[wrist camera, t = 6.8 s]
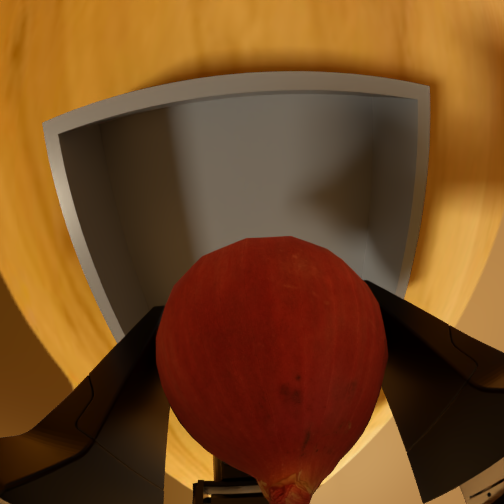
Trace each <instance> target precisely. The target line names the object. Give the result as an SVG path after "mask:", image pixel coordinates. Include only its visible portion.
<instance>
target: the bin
mask: <svg viewBox="0 0 504 504" xmlns="http://www.w3.org/2000/svg"><path fill="white" fill-rule="evenodd" d="M42 124H43V130H44V136H45V142H46V147H47V153H48V158H49V162H50V167H51V171H52V175H53V180H54V184H55V187H56V191H57V195H58V199H59V202H60V206H61V209H62V212H63V216H64V219H65V222H66V225H67V228H68V231H69V234H70V237H71V240H72V243H73V246H74V248H75V251H76V254H77V256H78V259H79V262H80V264H81V267H82V269H83V272H84V274H85V277H86V279H87V281H88V284H89V286H90V288H91V291H92V293H93V295H94V297H95V300H96V302H97V304H98V306H99V308H100V310H101V312H102V314H103V316H104V318H105V320H106V322H107V324H108V326H109V328H110V330H111V332H112V334H113V336H114V338H115V340H116V342H117V344H118V343H119V342H120V340H121V339H122V338H123V337H124V336H125V335H126V334H127V333H128V332H129V331H130V330H131V329H132V328H133V327H134V326H135V325H136V324H137V323H138V322H139V321H140V320H141V319H142V318H143V317H144V316H145V315H146V314H147V313H148V312H149V311H150V310H151V309H152V308H153V307H154V306H162V305H166V303H167V300H168V298H169V296H170V293H171V291H172V289H173V286H174V285H175V284H176V283H177V282H178V280H179V279H180V278H181V277H182V276H183V275H184V274H185V273H186V272H187V271H188V270H189V269H190V268H191V267H192V266H193V265H194V264H195V263H196V262H197V261H198V260H199V259H200V258H201V257H202V256H204V255H206V254H208V253H211V252H213V251H215V250H218V249H220V248H223V247H225V246H228V245H230V244H233V243H235V242H238V241H240V240H243V239H245V238H261V237H279V236H293V237H296V238H299V239H301V240H304V241H307V242H310V243H313V244H315V245H318V246H321V247H324V248H327V249H328V250H330V251H331V252H332V253H334V254H335V255H337V256H338V257H339V258H341V259H342V260H343V261H344V262H345V263H346V264H347V265H348V266H349V267H350V268H351V269H352V270H353V271H354V272H355V273H356V274H357V275H358V276H359V277H360V278H361V279H362V280H369V281H371V282H372V283H374V284H376V285H378V286H380V287H382V288H384V289H385V290H387V291H389V292H391V293H393V294H395V295H397V296H398V297H400V298H402V299H404V297H405V293H406V289H407V286H408V282H409V278H410V274H411V269H412V265H413V261H414V256H415V252H416V247H417V242H418V236H419V231H420V225H421V219H422V213H423V206H424V199H425V191H426V182H427V172H428V160H429V144H430V86H427V85H422V84H418V83H413V82H407V81H402V80H396V79H390V78H383V77H376V76H368V75H359V74H349V73H335V72H314V71H274V72H253V73H240V74H229V75H220V76H211V77H204V78H197V79H191V80H185V81H179V82H174V83H168V84H163V85H159V86H154V87H150V88H145V89H141V90H137V91H133V92H129V93H126V94H122V95H118V96H115V97H112V98H108V99H105V100H102V101H99V102H96V103H92V104H90V105H87V106H84V107H81V108H78V109H75V110H73V111H70V112H67V113H65V114H62V115H60V116H57V117H55V118H52V119H50V120H48V121H45V122H43V123H42Z"/></svg>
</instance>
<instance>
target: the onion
mask: <svg viewBox="0 0 504 504" xmlns="http://www.w3.org/2000/svg"><path fill="white" fill-rule="evenodd" d="M387 360H388V348H387V339H386V333H385V328H384V324H383V319H382V315H381V310H380V306H379V303H378V301H377V300H376V298H375V296H374V295H373V293H372V291H371V290H370V288H369V286H368V285H367V284H366V283H365V282H364V281H363V280H362V279H361V278H360V277H359V276H358V275H357V274H356V273H355V272H354V271H353V270H352V269H351V268H350V267H349V266H348V265H347V264H346V263H345V262H344V261H343V260H342V259H341V258H339V257H338V256H337V255H335V254H334V253H332V252H331V251H330V250H328V249H327V248H324V247H321V246H318V245H315V244H313V243H310V242H307V241H304V240H301V239H299V238H296V237H293V236H279V237H261V238H245V239H243V240H240V241H238V242H235V243H233V244H230V245H228V246H225V247H223V248H220V249H218V250H215V251H213V252H211V253H208V254H206V255H204V256H202V257H201V258H200V259H199V260H198V261H197V262H196V263H195V264H194V265H193V266H192V267H191V268H190V269H189V270H188V271H187V272H186V273H185V274H184V275H183V276H182V277H181V278H180V279H179V280H178V282H177V283H176V284H175V285H174V286H173V289H172V291H171V293H170V296H169V298H168V300H167V303H166V305H165V308H164V311H163V314H162V318H161V321H160V325H159V328H158V332H157V335H156V365H157V369H158V373H159V377H160V381H161V385H162V388H163V390H164V393H165V395H166V398H167V400H168V402H169V405H170V407H171V409H172V410H173V412H174V414H175V415H176V417H177V419H178V421H179V422H180V423H181V425H182V426H183V427H184V428H185V429H186V431H187V432H188V433H189V434H190V435H191V437H192V438H193V439H195V440H196V441H197V442H198V443H199V444H200V445H201V446H202V447H203V448H204V449H205V450H207V451H208V452H209V453H211V454H212V455H214V456H215V457H217V458H218V459H220V460H221V461H223V462H225V463H227V464H228V465H230V466H232V467H234V468H236V469H238V470H240V471H242V472H245V473H247V474H249V475H250V476H252V477H254V478H255V479H256V481H257V483H258V485H259V487H260V489H261V491H262V493H263V495H264V496H265V498H266V499H267V500H268V501H269V504H309V503H310V500H311V497H312V495H313V494H314V492H315V491H316V490H317V488H318V487H319V485H320V484H321V482H322V481H323V480H324V479H325V478H326V477H327V476H328V475H329V474H330V473H331V472H332V471H333V470H334V468H335V467H336V465H337V464H338V462H339V461H340V460H341V459H342V458H343V457H344V456H345V455H346V454H347V452H348V451H349V450H350V449H351V448H352V447H353V446H354V445H355V443H356V442H357V441H358V439H359V438H360V437H361V435H362V434H363V432H364V430H365V428H366V427H367V425H368V423H369V421H370V419H371V416H372V413H373V411H374V408H375V405H376V402H377V400H378V397H379V393H380V390H381V386H382V382H383V378H384V374H385V369H386V365H387Z"/></svg>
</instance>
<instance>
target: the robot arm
mask: <svg viewBox="0 0 504 504" xmlns="http://www.w3.org/2000/svg"><path fill="white" fill-rule="evenodd" d="M363 281H364V282H365V283H366V284H367V285H368V286H369V288H370V290H371V291H372V293H373V295H374V296H375V298H376V300H377V301H378V303H379V306H380V310H381V315H382V319H383V324H384V328H385V333H386V339H387V348H388V360H387V365H386V369H385V374H384V378H383V382H382V389H383V391H384V394H385V396H386V399H387V401H388V404H389V406H390V409H391V411H392V414H393V417H394V419H395V422H396V424H397V427H398V430H399V432H400V435H401V438H402V441H403V444H404V446H405V449H406V451H407V455H408V458H409V461H410V464H411V467H412V470H413V473H414V477H415V480H416V483H417V486H418V489H419V492H420V496H421V499H422V502H423V503H426V502H429V501H431V500H433V499H435V498H437V497H439V496H441V495H443V494H445V493H447V492H449V491H451V490H453V489H455V488H456V487H458V486H460V488H461V491H462V494H463V496H464V499H465V502H466V504H504V353H503V352H501V351H499V350H497V349H495V348H493V347H491V346H488V345H486V344H484V343H482V342H480V341H478V340H476V339H474V338H472V337H470V336H468V335H467V334H465V333H463V332H461V331H459V330H457V329H456V328H454V327H452V326H451V325H450V326H449V325H448V324H447V323H445V322H443V321H442V320H440V319H438V318H436V317H435V316H433V315H431V314H429V313H427V312H426V311H424V310H422V309H420V308H418V307H417V306H415V305H413V304H411V303H409V302H408V301H406V300H404V299H402V298H400V297H398V296H397V295H395V294H393V293H391V292H389V291H387V290H385V289H384V288H382V287H380V286H378V285H376V284H374V283H372V282H371V281H369V280H363ZM164 308H165V305H162V306H154V307H153V308H152V309H151V310H150V311H149V312H148V313H147V314H146V315H145V316H144V317H143V318H142V319H141V320H140V321H139V322H138V323H137V324H136V325H135V326H134V327H133V328H132V329H131V330H130V331H129V332H128V333H127V334H126V335H125V336H124V337H123V338H122V339H121V340H120V342H119V343H118V344H117V345H116V346H115V347H114V348H113V349H112V350H111V351H110V352H109V353H108V354H107V355H106V356H105V357H104V358H103V359H102V361H101V362H100V363H99V364H98V365H97V366H96V367H95V368H94V369H93V370H92V371H91V372H90V373H89V376H87V377H86V378H85V379H84V380H83V381H82V382H81V383H80V384H79V385H78V386H77V387H76V388H75V389H74V390H73V391H72V393H71V394H70V395H68V396H67V397H66V398H65V399H64V400H63V401H62V402H61V403H60V404H59V405H58V406H57V407H56V408H55V409H53V410H52V411H51V412H50V413H49V414H48V415H47V416H46V417H45V418H44V419H43V420H42V421H40V423H38V424H37V425H36V426H35V427H34V428H32V429H31V430H29V431H28V432H26V433H24V434H21V435H17V436H11V437H3V438H0V504H163V501H164V491H163V489H164V475H165V459H166V445H167V433H168V422H169V411H170V405H169V402H168V400H167V398H166V395H165V393H164V390H163V388H162V385H161V381H160V377H159V373H158V369H157V365H156V335H157V332H158V328H159V325H160V321H161V318H162V314H163V311H164ZM213 467H214V481H204V480H198V483H194V484H193V502H192V503H193V504H269V501H268V500H267V499H266V498H265V496H264V495H263V493H262V491H261V489H260V487H259V485H258V483H257V481H256V479H255V478H254V477H252V476H250V475H249V474H247V473H245V472H242V471H240V470H238V469H236V468H234V467H232V466H230V465H228V464H227V463H225V462H223V461H221V460H220V459H218V458H217V457H215V456H214V455H213ZM208 494H209V495H211V497H208Z"/></svg>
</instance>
